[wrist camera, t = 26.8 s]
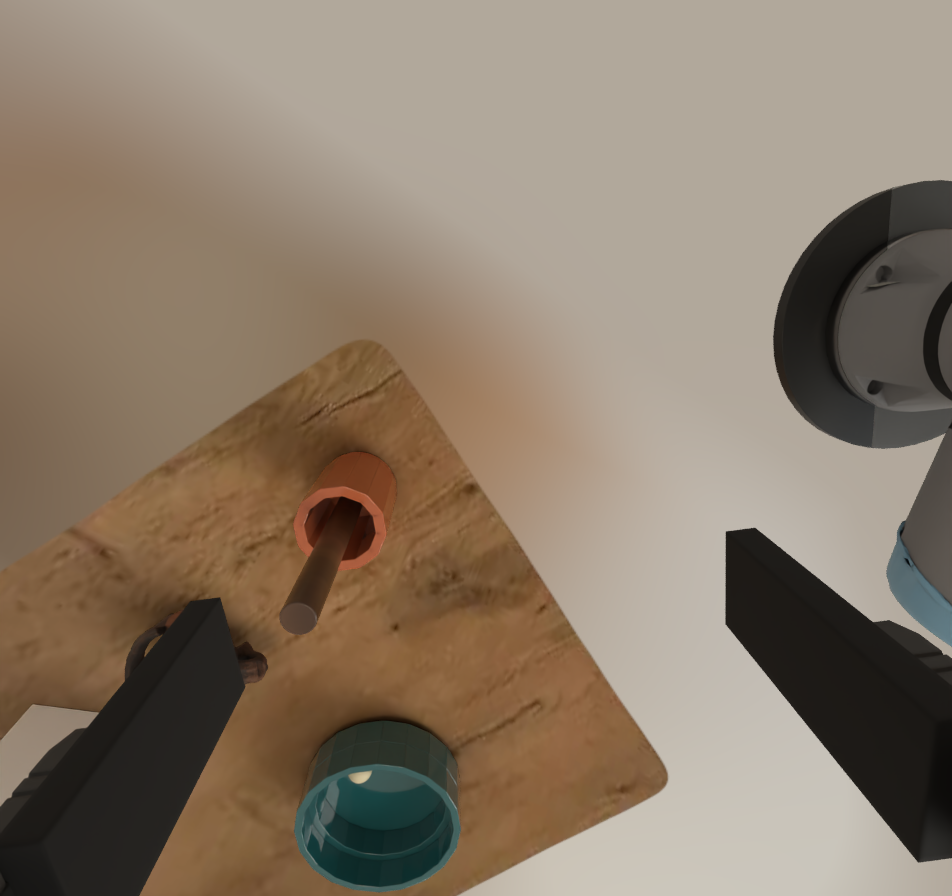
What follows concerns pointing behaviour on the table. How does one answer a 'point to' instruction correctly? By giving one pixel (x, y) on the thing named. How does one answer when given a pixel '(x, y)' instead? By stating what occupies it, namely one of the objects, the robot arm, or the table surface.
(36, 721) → the milk
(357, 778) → the bead
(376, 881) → the bowl
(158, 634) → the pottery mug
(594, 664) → the table surface
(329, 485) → the crock
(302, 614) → the stirring stick
